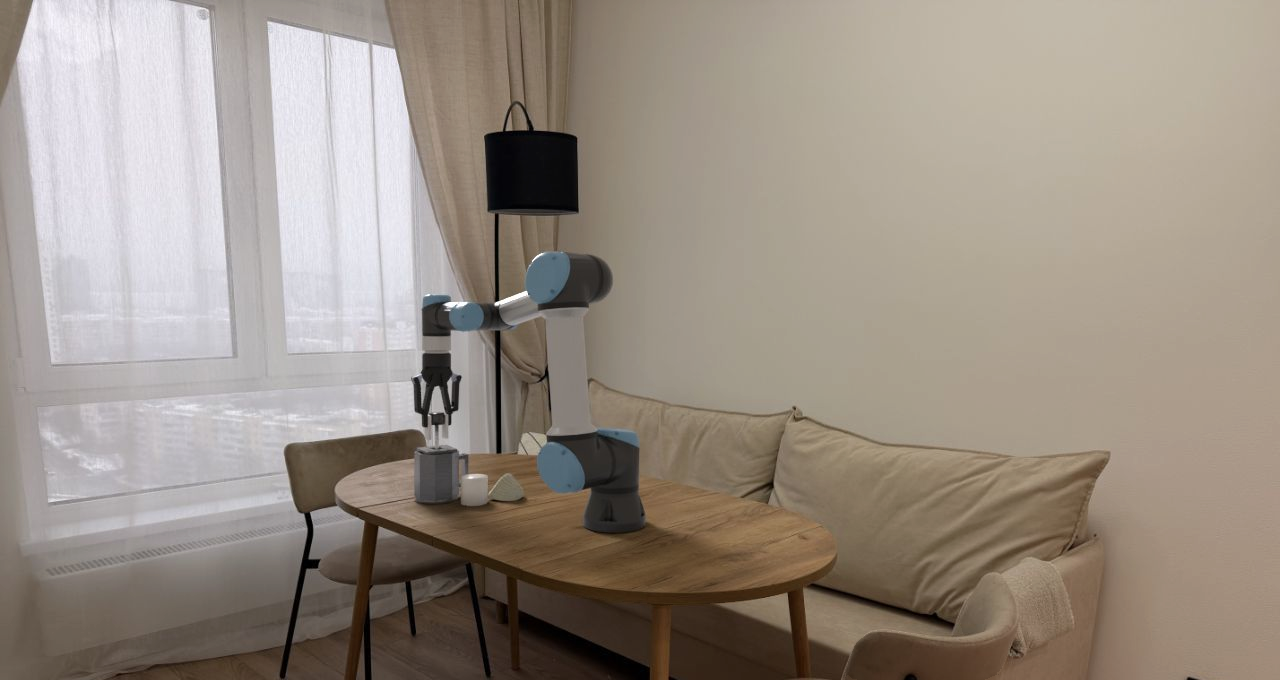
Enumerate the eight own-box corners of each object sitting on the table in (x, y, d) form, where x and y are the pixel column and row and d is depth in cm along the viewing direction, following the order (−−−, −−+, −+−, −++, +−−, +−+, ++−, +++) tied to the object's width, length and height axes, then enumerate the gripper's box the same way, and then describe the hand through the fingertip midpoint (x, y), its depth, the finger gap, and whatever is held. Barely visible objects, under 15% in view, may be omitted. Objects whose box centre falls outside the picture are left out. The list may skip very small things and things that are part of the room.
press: (474, 499, 208) (474, 448, 207) (423, 506, 200) (423, 453, 199) (459, 490, 217) (459, 442, 216) (409, 497, 209) (409, 447, 208)
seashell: (532, 491, 208) (510, 480, 203) (513, 515, 208) (490, 504, 203) (522, 474, 214) (501, 464, 210) (503, 498, 215) (482, 487, 210)
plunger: (455, 483, 206) (455, 413, 206) (427, 487, 202) (427, 415, 201) (445, 478, 212) (445, 410, 212) (418, 481, 208) (418, 412, 208)
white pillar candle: (491, 503, 203) (491, 477, 203) (466, 507, 199) (466, 480, 199) (481, 498, 209) (481, 472, 209) (456, 501, 205) (456, 475, 205)
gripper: (461, 350, 214) (461, 434, 215) (400, 352, 204) (400, 439, 205) (472, 352, 208) (472, 437, 209) (409, 353, 198) (409, 443, 199)
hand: (436, 438), depth 207 cm, fingers closed on plunger, 4 cm apart
